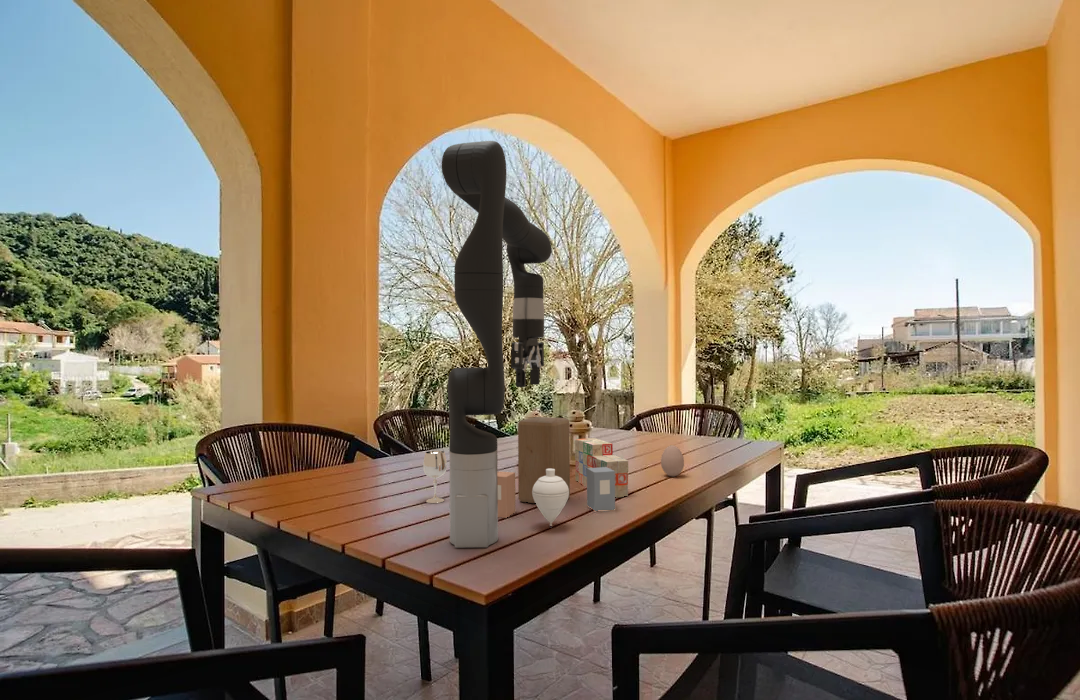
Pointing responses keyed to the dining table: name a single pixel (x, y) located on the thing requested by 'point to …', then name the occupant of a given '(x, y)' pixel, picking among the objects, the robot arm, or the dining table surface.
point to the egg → (672, 461)
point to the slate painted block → (601, 488)
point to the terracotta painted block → (506, 493)
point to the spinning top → (550, 495)
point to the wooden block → (542, 452)
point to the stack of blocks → (600, 462)
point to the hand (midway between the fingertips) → (528, 385)
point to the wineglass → (435, 469)
